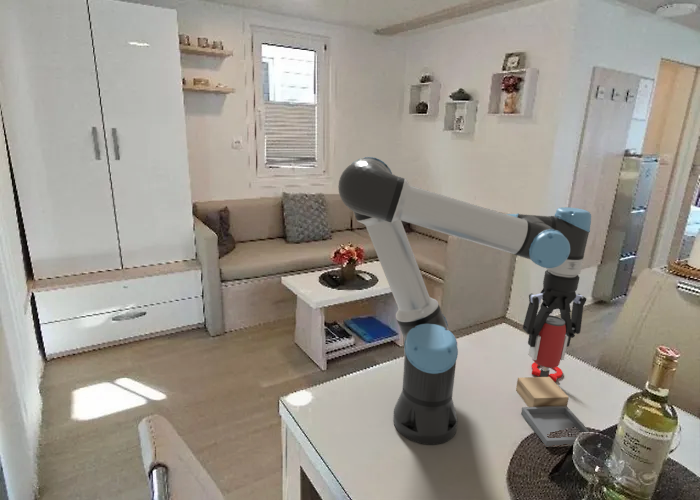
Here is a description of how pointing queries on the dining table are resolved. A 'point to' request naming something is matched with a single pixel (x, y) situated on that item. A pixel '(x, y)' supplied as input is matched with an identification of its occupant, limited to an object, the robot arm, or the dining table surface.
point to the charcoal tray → (552, 422)
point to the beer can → (551, 342)
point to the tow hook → (546, 372)
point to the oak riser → (541, 392)
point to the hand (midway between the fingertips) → (545, 357)
